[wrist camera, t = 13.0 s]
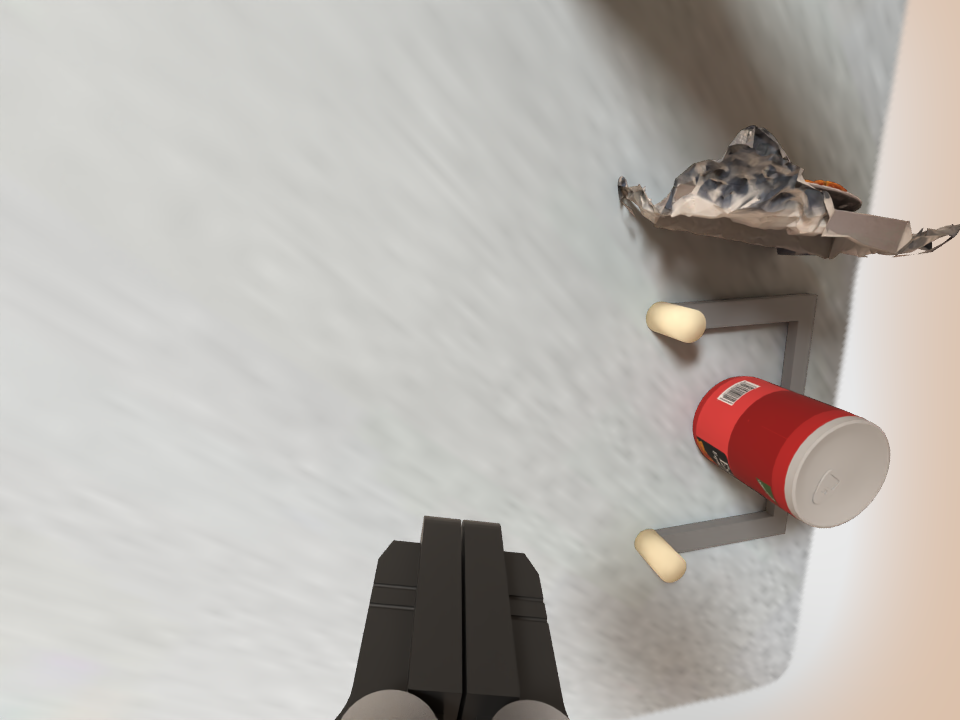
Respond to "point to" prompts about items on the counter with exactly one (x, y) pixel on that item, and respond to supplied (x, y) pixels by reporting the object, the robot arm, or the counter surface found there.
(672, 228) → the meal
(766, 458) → the canned food
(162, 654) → the counter surface
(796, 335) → the frame
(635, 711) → the counter surface
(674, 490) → the counter surface
